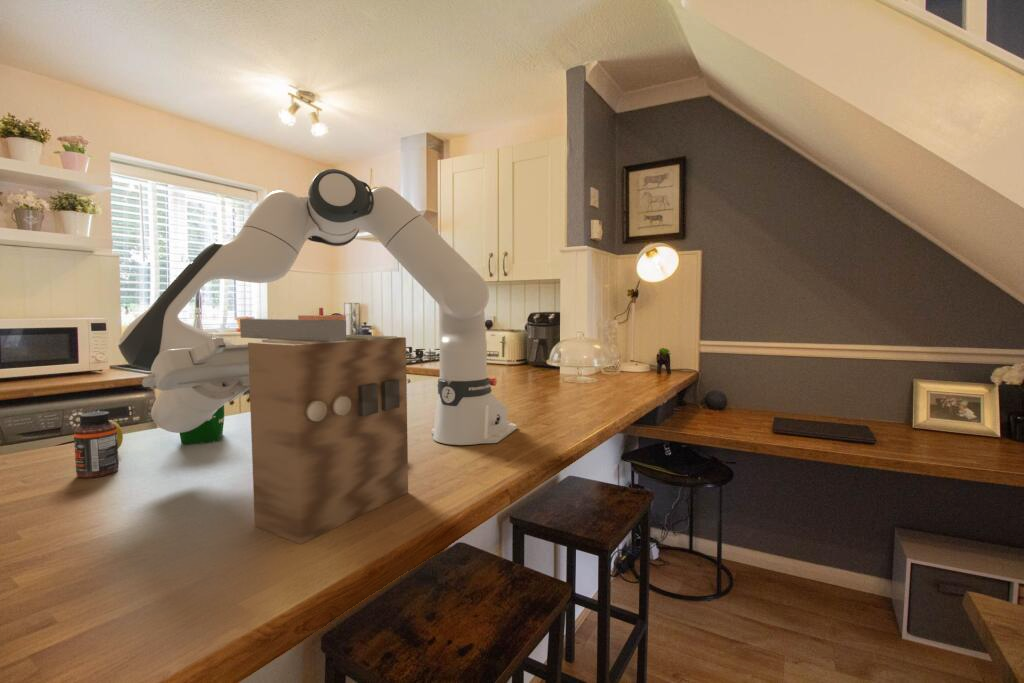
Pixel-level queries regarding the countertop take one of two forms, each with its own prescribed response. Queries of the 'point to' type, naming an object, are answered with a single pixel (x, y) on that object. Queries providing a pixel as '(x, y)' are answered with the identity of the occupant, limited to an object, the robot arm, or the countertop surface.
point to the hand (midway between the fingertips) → (251, 340)
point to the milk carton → (206, 430)
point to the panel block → (326, 431)
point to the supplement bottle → (96, 445)
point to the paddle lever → (297, 328)
